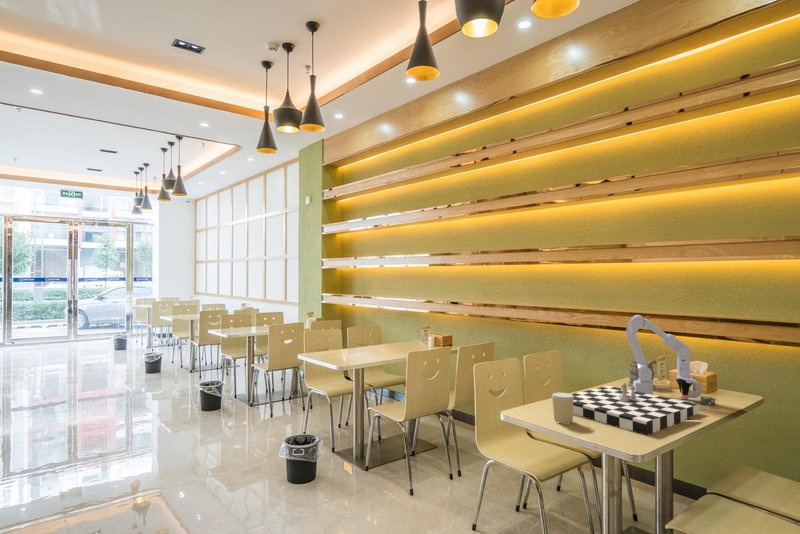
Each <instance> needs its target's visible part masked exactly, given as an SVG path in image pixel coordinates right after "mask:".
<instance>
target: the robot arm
mask: <svg viewBox="0 0 800 534" xmlns="http://www.w3.org/2000/svg"><path fill="white" fill-rule="evenodd" d="M640 328H643V329H648V330H650V331H652V332H653V333H654V334H656V335H657V336H658V337H660V338H661V339H662V342H663V344H665V345H667V347H669V348H671V350H673V351H676V353H677V357H676V370H677V372H676V378H675V381H676V383H677V385H678V388H679V391H680V393H681V388H682V393H683V395H688V392H689V390H691V389H690V388H691V386H693V385H692V382H691V379H694V376H691V359H690V354H691V349H690V347H689V345H687V344H686V343H685V342H684V341H681V340H680V339H678V338H677V337H676V335H674V334H671V333H666V332H665V331H663V330H662V329H661V328H660V327H658V326H657V325H656V324H654V323H653V322H652V321H650V319H647V318H645V317H643V315H640V314H635V315H633V316H632V317H631V318H630V319H629V321H628V323H627V326H626V330H625V336H626V338H627V340H628V343H629V346H630V349H631V351H632V354H633V357H634V361H636V363H637V367H638V370H639V378H638V380H637V381H633V386H634V387H635V390H634V391H636V392H641V393H646V394H651V395H654V379H653V380H652V371H651V369H649V367H648V366H647V363H648V362H647V361H646V359H645V356H644V353H643V350H642V348H641V347H642V346H641V345H640V342H639V339H638V337H637V333H638V331H639V329H640ZM646 362H647V363H646Z"/></svg>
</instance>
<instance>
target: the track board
mask: <svg viewBox="0 0 800 534" xmlns="http://www.w3.org/2000/svg"><path fill="white" fill-rule="evenodd" d="M677 400H680V401H685V402H690V403H694V402H693V401H692V400H691V399H689V398H681V397H678V398H677ZM698 410H703V408H702V407H701V406H699V405H698Z"/></svg>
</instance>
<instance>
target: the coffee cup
mask: <svg viewBox="0 0 800 534" xmlns="http://www.w3.org/2000/svg"><path fill="white" fill-rule="evenodd" d="M572 394H573V393H568V392H559V391H558V392H553V393H552V395H551V398H552V411H553V421H554V420H555V421H556V422H559V423H564V424H563V425H570V424H569V423H571V424H573V421H574V420H573V418H574V414H573V402H574V397H573V395H572ZM555 421H554V422H555ZM556 422H555V423H556ZM559 423H558V424H559Z"/></svg>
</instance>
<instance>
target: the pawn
mask: <svg viewBox="0 0 800 534" xmlns="http://www.w3.org/2000/svg"><path fill="white" fill-rule="evenodd" d="M679 398H688V399H689V398H690V397H689V396H688V395H683V393H682V388H681V392H680V397H679Z"/></svg>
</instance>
